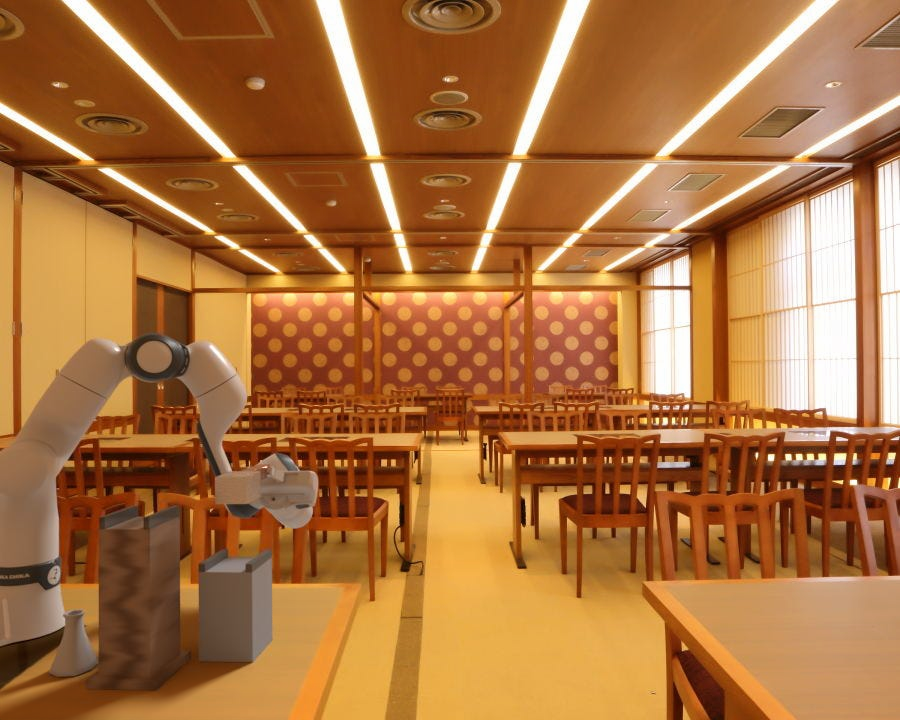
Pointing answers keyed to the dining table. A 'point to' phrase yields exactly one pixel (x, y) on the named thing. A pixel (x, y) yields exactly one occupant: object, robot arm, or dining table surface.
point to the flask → (73, 648)
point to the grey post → (235, 607)
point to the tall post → (139, 600)
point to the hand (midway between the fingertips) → (259, 470)
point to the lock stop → (240, 485)
